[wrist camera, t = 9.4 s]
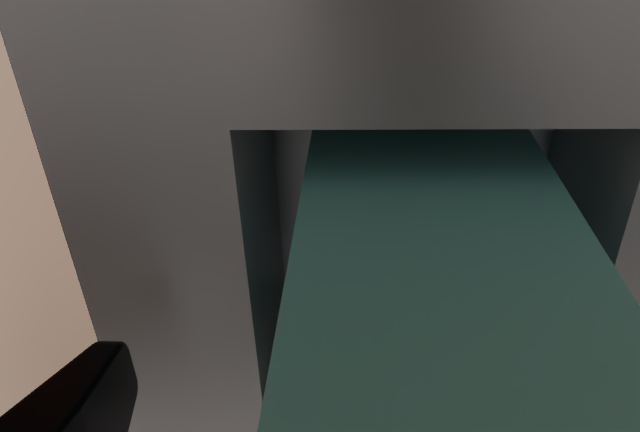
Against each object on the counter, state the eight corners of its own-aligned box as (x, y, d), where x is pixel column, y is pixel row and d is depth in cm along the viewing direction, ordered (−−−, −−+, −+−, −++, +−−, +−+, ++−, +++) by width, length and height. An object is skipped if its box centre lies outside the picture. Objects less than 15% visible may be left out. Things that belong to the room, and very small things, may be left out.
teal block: (487, 256, 14) (638, 731, 6) (323, 255, 14) (280, 709, 7) (509, 98, 12) (777, 527, 4) (317, 100, 12) (244, 505, 5)
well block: (608, 360, 16) (684, 512, 13) (193, 350, 17) (145, 491, 13) (769, -134, 10) (1019, -130, 6) (101, -112, 11) (-40, -97, 7)
